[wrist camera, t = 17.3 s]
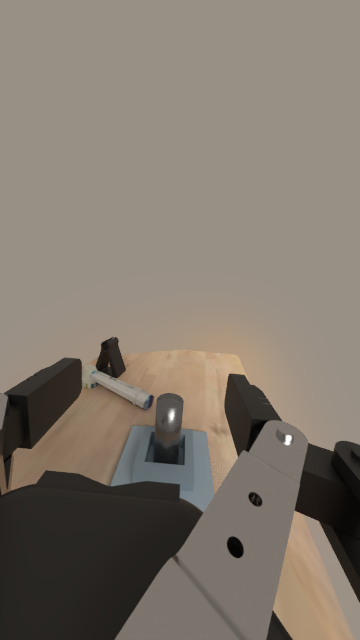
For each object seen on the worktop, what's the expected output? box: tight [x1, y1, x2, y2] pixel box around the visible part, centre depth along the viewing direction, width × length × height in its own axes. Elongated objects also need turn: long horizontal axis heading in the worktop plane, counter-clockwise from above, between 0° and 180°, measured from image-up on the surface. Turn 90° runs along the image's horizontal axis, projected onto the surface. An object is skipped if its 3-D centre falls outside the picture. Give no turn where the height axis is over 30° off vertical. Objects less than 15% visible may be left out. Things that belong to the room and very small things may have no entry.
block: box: [110, 425, 214, 513], centre depth 35 cm, size 16×16×4 cm
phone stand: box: [95, 337, 126, 378], centre depth 68 cm, size 9×6×12 cm, turn 78°
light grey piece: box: [82, 365, 154, 410], centre depth 57 cm, size 5×7×25 cm
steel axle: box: [153, 393, 183, 465], centre depth 34 cm, size 4×4×12 cm
